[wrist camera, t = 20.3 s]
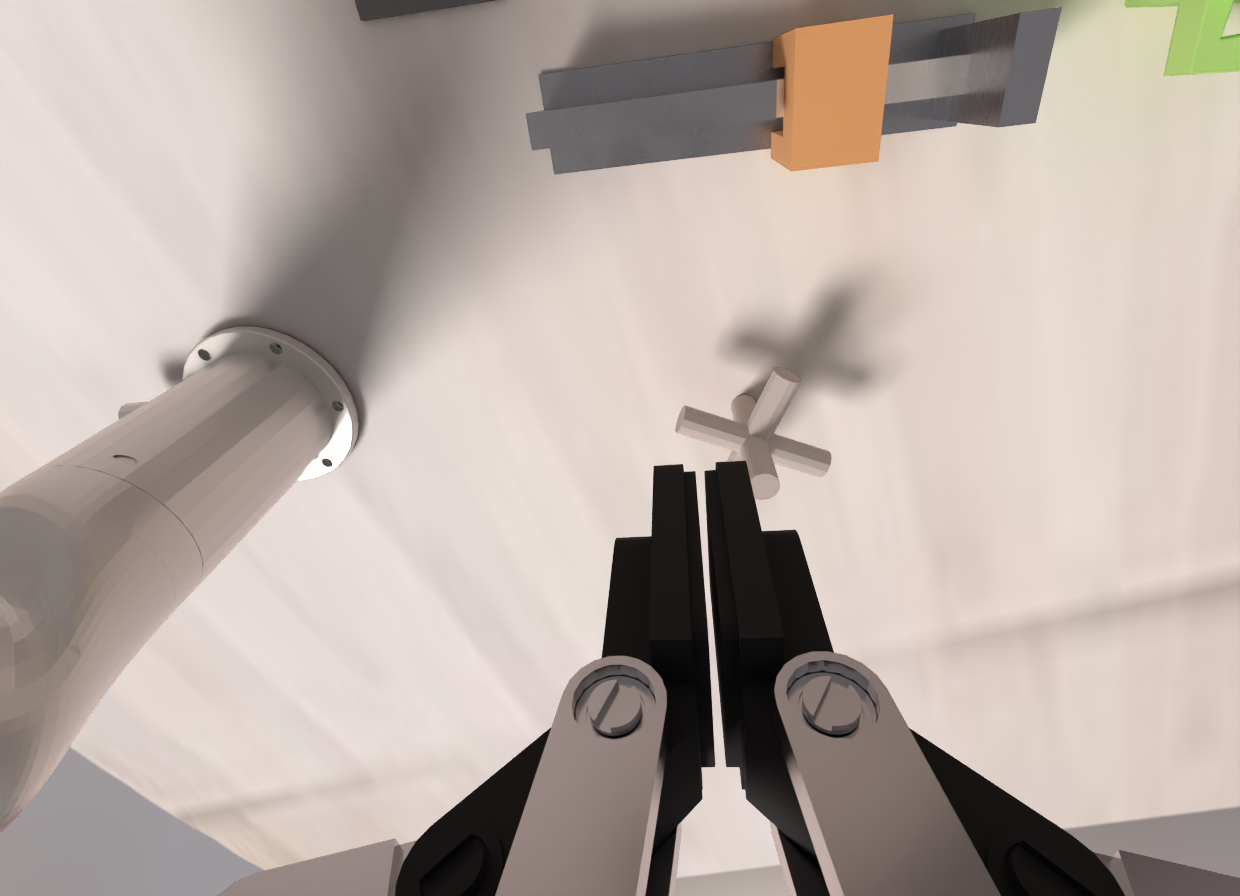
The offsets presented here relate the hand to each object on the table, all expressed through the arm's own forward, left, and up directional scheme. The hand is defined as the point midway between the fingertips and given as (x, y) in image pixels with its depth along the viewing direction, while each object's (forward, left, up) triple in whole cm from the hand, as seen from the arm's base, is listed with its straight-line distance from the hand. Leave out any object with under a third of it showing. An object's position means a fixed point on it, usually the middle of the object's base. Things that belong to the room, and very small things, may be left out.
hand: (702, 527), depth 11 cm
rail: (+4, +6, -29) cm, 30 cm away
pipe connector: (+4, -13, -29) cm, 32 cm away
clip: (+8, +6, -29) cm, 30 cm away
